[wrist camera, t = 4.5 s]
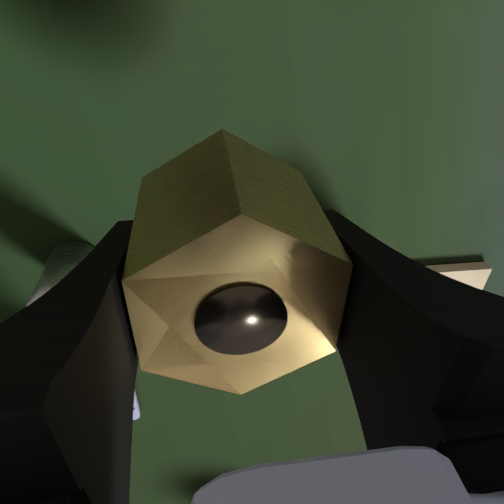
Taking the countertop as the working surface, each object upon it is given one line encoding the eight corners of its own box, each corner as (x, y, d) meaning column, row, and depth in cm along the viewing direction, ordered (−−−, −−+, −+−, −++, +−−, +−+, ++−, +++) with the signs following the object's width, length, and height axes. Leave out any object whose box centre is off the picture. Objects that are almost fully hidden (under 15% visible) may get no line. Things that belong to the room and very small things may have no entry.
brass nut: (290, 275, 15) (329, 388, 11) (158, 285, 15) (149, 407, 11) (304, 126, 12) (366, 209, 8) (134, 131, 11) (107, 223, 7)
